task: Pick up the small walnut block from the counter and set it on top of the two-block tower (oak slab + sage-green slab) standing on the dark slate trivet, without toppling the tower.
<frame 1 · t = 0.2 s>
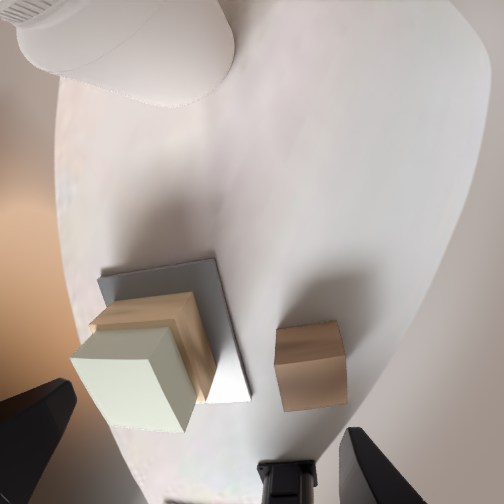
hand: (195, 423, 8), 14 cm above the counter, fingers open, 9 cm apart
tower base: (164, 336, 23), point 1 cm above the counter, touching slate board, tower mid
pill bottle: (179, 57, 17), on the counter
tower mid: (145, 365, 19), point 5 cm above the counter, touching tower base
slate board: (176, 342, 23), on the counter
walnut block: (309, 348, 23), on the counter
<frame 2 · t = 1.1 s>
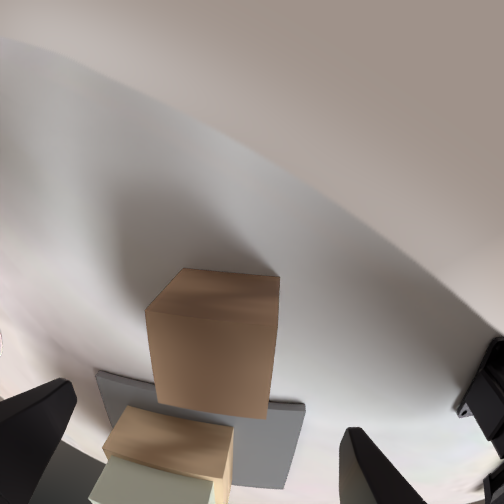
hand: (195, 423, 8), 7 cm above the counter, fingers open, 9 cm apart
tower base: (182, 448, 17), point 1 cm above the counter, touching slate board, tower mid
tower mid: (167, 492, 13), point 5 cm above the counter, touching tower base
slate board: (198, 441, 18), on the counter
walnut block: (229, 315, 15), on the counter
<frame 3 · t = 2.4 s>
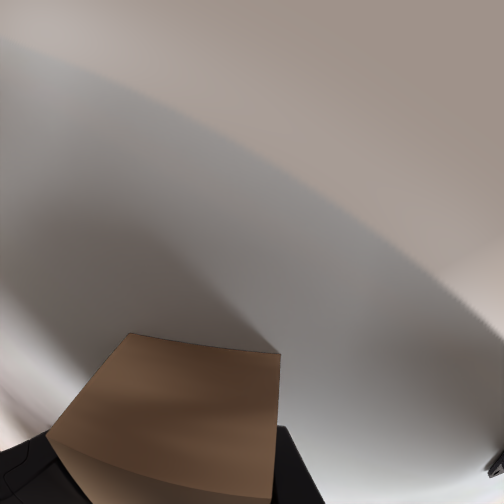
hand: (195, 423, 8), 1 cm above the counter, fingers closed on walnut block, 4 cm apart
walnut block: (203, 400, 9), on the counter, touching gripper
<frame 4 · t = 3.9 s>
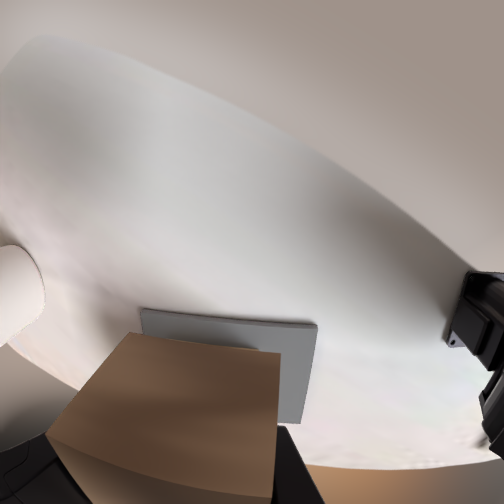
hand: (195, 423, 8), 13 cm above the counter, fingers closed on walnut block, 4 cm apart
pill bottle: (22, 281, 23), on the counter
slate board: (226, 372, 23), on the counter
walnut block: (203, 399, 9), point 12 cm above the counter, touching gripper
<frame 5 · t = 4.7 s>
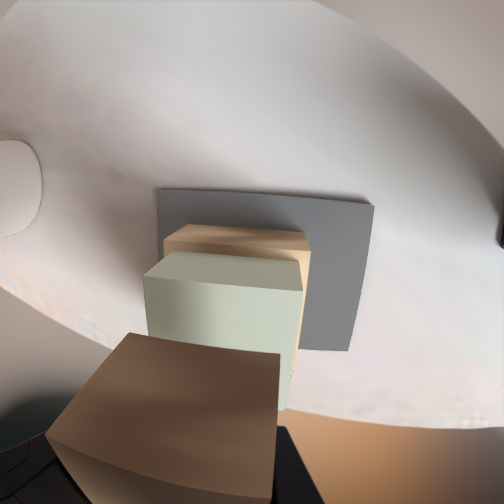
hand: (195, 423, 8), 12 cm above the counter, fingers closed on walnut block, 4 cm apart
tower base: (242, 283, 19), point 1 cm above the counter, touching slate board, tower mid
pill bottle: (18, 185, 20), on the counter
tower mid: (232, 313, 15), point 5 cm above the counter, touching tower base
slate board: (259, 273, 19), on the counter
walnut block: (202, 400, 9), point 11 cm above the counter, touching gripper
when the fingers open (10 cm above the counter, at t = 5.4 s): walnut block drops 1 cm, resting on tower mid.
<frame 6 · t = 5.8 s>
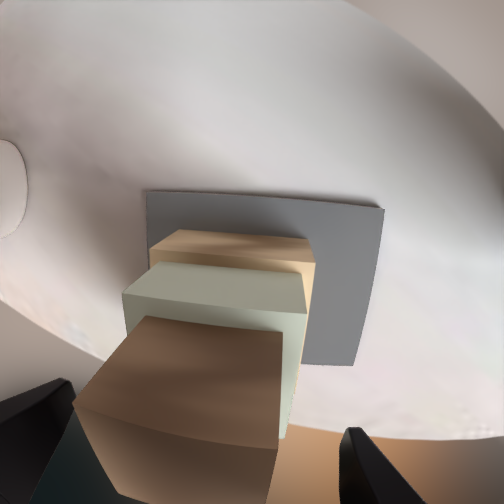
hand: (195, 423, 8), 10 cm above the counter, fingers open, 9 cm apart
tower base: (239, 294, 17), point 1 cm above the counter, touching slate board, tower mid
pill bottle: (4, 187, 18), on the counter
tower mid: (226, 330, 13), point 5 cm above the counter, touching tower base, walnut block
slate board: (258, 283, 17), on the counter
walnut block: (211, 378, 10), point 8 cm above the counter, touching tower mid
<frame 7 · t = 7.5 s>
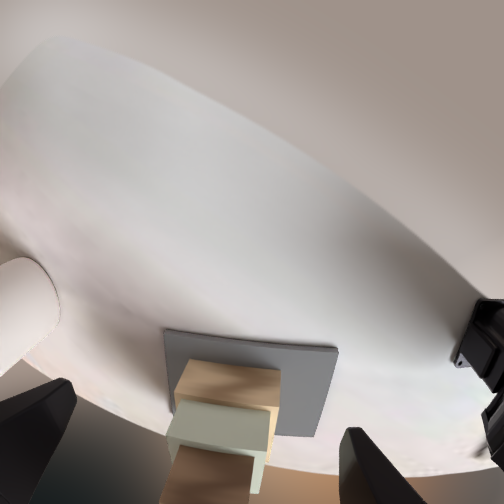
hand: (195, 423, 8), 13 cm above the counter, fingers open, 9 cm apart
tower base: (233, 397, 23), point 1 cm above the counter, touching slate board, tower mid
pill bottle: (35, 293, 23), on the counter
tower mid: (224, 432, 19), point 5 cm above the counter, touching tower base, walnut block
slate board: (246, 390, 23), on the counter
walnut block: (217, 469, 15), point 8 cm above the counter, touching tower mid
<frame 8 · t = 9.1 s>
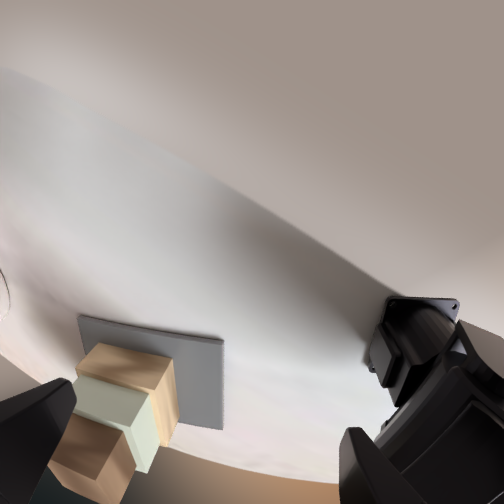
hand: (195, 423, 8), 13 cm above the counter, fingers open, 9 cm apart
tower base: (139, 381, 24), point 1 cm above the counter, touching slate board, tower mid
tower mid: (120, 411, 20), point 5 cm above the counter, touching tower base, walnut block
slate board: (151, 376, 24), on the counter
walnut block: (103, 440, 16), point 8 cm above the counter, touching tower mid
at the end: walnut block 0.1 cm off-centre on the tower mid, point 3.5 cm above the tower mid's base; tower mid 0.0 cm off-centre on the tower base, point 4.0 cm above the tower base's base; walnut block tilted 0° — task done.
